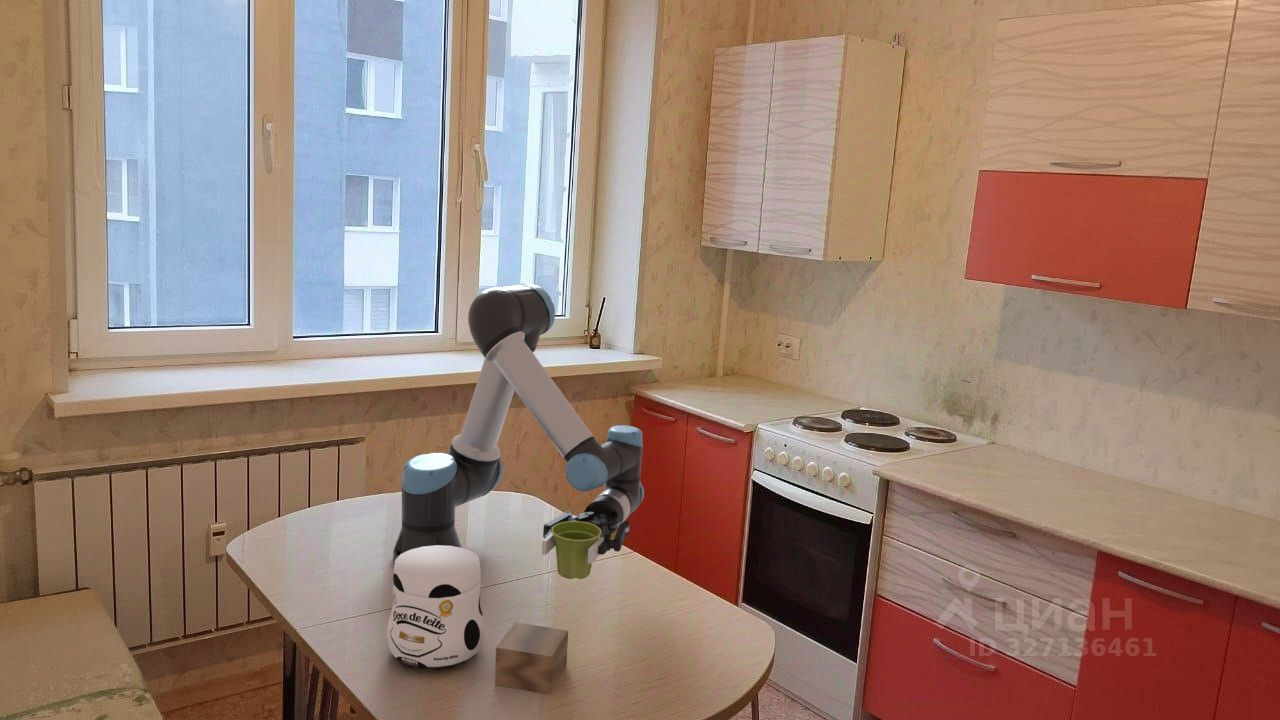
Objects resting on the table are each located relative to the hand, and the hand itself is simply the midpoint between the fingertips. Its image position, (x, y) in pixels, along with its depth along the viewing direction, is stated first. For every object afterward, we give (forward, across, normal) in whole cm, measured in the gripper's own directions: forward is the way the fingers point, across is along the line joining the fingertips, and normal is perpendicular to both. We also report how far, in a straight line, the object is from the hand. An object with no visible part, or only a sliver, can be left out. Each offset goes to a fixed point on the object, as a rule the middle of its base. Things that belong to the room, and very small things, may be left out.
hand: (566, 552), depth 177 cm
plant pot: (-5, 0, -6) cm, 8 cm away
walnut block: (+11, +2, -20) cm, 22 cm away
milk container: (+10, +21, -20) cm, 30 cm away
